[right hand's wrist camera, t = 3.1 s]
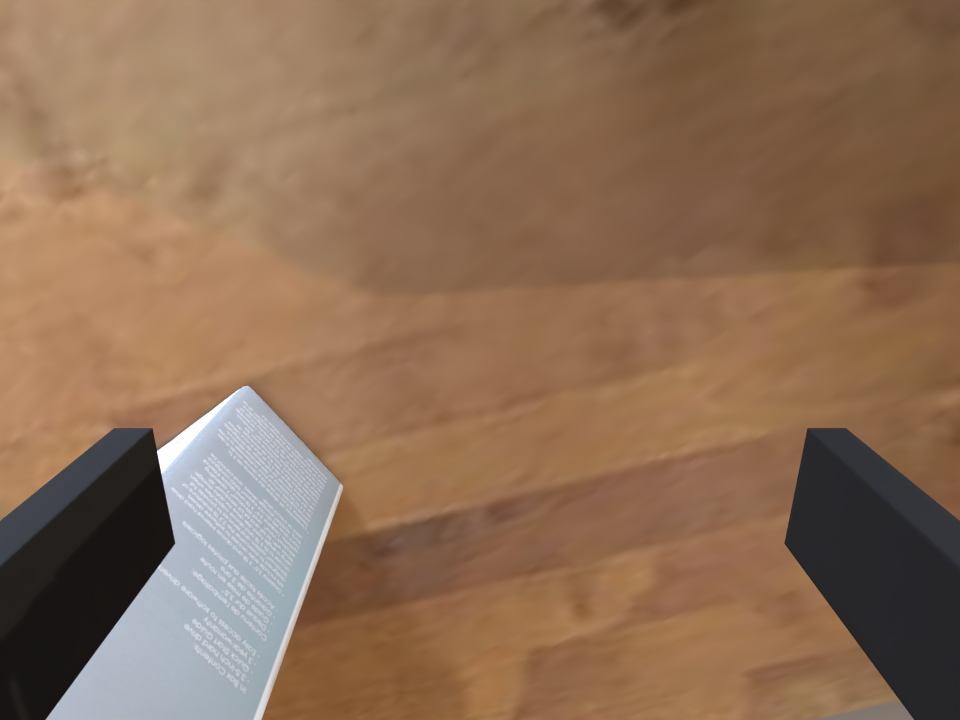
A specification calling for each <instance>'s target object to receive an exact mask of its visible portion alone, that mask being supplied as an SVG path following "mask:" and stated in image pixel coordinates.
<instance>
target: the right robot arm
mask: <svg viewBox="0 0 960 720" xmlns="http://www.w3.org/2000/svg"><path fill="white" fill-rule="evenodd" d="M174 545H175V539H174V534H173V529H172V524H171V519H170V514H169V509H168V504H167V499H166V494H165V489H164V484H163V479H162V474H161V469H160V464H159V459H158V454H157V449H156V444H155V439H154V434H153V429H152V428H114V429H113V430H111V431H110V432H109V433H108V434H107V435H105V436H104V437H103V438H102V439H100V440H99V441H98V442H97V443H95V444H94V445H93V446H92V447H91V448H89V449H88V450H87V451H86V452H84V453H83V454H82V455H81V456H80V457H78V458H77V459H76V460H75V461H73V462H72V463H71V464H70V465H68V466H67V467H66V468H65V469H64V470H62V471H61V472H60V473H59V474H57V475H56V476H55V477H54V478H53V479H51V480H50V481H49V482H48V483H46V484H45V485H44V486H43V487H41V488H40V489H39V490H38V491H37V492H35V493H34V494H33V495H32V496H30V497H29V498H28V499H27V500H26V501H24V502H23V503H22V504H21V505H19V506H18V507H17V508H16V509H15V510H13V511H12V512H11V513H10V514H8V515H7V516H6V517H5V518H3V519H2V520H1V521H0V720H46V719H47V717H48V716H49V715H50V713H51V712H52V711H53V709H54V708H55V706H56V705H57V704H58V702H59V701H60V700H61V698H62V697H63V696H64V694H65V693H66V692H67V690H68V689H69V687H70V686H71V685H72V683H73V682H74V681H75V679H76V678H77V677H78V675H79V674H80V673H81V671H82V670H83V668H84V667H85V666H86V664H87V663H88V662H89V660H90V659H91V658H92V656H93V655H94V653H95V652H96V651H97V649H98V648H99V647H100V645H101V644H102V643H103V641H104V640H105V639H106V637H107V636H108V634H109V633H110V632H111V630H112V629H113V628H114V626H115V625H116V624H117V622H118V621H119V620H120V618H121V617H122V615H123V614H124V613H125V611H126V610H127V609H128V607H129V606H130V605H131V603H132V602H133V601H134V599H135V598H136V596H137V595H138V594H139V592H140V591H141V590H142V588H143V587H144V586H145V584H146V583H147V582H148V580H149V579H150V577H151V576H152V575H153V573H154V572H155V571H156V569H157V568H158V567H159V565H160V564H161V563H162V561H163V560H164V558H165V557H166V556H167V554H168V553H169V552H170V550H171V549H172V548H173V546H174ZM785 545H786V546H787V548H788V549H789V550H790V552H791V553H792V554H793V556H794V557H795V558H796V560H797V561H798V563H799V564H800V565H801V567H802V568H803V569H804V571H805V572H806V573H807V575H808V576H809V577H810V579H811V580H812V582H813V583H814V584H815V586H816V587H817V588H818V590H819V591H820V592H821V594H822V595H823V596H824V598H825V599H826V601H827V602H828V603H829V605H830V606H831V607H832V609H833V610H834V611H835V613H836V614H837V615H838V617H839V618H840V620H841V621H842V622H843V624H844V625H845V626H846V628H847V629H848V630H849V632H850V633H851V634H852V636H853V637H854V639H855V640H856V641H857V643H858V644H859V645H860V647H861V648H862V649H863V651H864V652H865V653H866V655H867V656H868V658H869V659H870V660H871V662H872V663H873V664H874V666H875V667H876V668H877V670H878V671H879V673H880V674H881V675H882V677H883V678H884V679H885V681H886V682H887V683H888V685H889V686H890V687H891V689H892V690H893V692H894V693H895V694H896V696H897V697H898V698H899V700H900V701H901V702H902V704H903V705H904V706H905V708H906V709H907V710H908V712H909V713H910V715H911V716H912V717H913V719H914V720H960V521H959V520H958V519H957V518H955V517H954V516H953V515H952V514H950V513H949V512H948V511H947V510H945V509H944V508H943V507H942V506H941V505H939V504H938V503H937V502H936V501H934V500H933V499H932V498H931V497H930V496H928V495H927V494H926V493H925V492H923V491H922V490H921V489H920V488H918V487H917V486H916V485H915V484H914V483H912V482H911V481H910V480H909V479H907V478H906V477H905V476H904V475H903V474H901V473H900V472H899V471H898V470H896V469H895V468H894V467H893V466H892V465H890V464H889V463H888V462H887V461H885V460H884V459H883V458H882V457H880V456H879V455H878V454H877V453H876V452H874V451H873V450H872V449H871V448H869V447H868V446H867V445H866V444H865V443H863V442H862V441H861V440H860V439H858V438H857V437H856V436H855V435H853V434H852V433H851V432H850V431H849V430H847V429H846V428H808V429H807V434H806V439H805V444H804V449H803V454H802V459H801V464H800V469H799V474H798V479H797V484H796V489H795V494H794V499H793V504H792V509H791V514H790V519H789V524H788V529H787V534H786V539H785Z"/></svg>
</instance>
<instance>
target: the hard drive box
mask: <svg viewBox="0 0 960 720" xmlns="http://www.w3.org/2000/svg"><path fill="white" fill-rule="evenodd" d="M157 454H158V459H159V464H160V469H161V474H162V479H163V484H164V489H165V494H166V499H167V504H168V509H169V514H170V519H171V524H172V529H173V534H174V539H175V545H174V546H173V548H172V549H171V550H170V552H169V553H168V554H167V556H166V557H165V558H164V560H163V561H162V563H161V564H160V565H159V567H158V568H157V569H156V571H155V572H154V573H153V575H152V576H151V577H150V579H149V580H148V582H147V583H146V584H145V586H144V587H143V588H142V590H141V591H140V592H139V594H138V595H137V596H136V598H135V599H134V601H133V602H132V603H131V605H130V606H129V607H128V609H127V610H126V611H125V613H124V614H123V615H122V617H121V618H120V620H119V621H118V622H117V624H116V625H115V626H114V628H113V629H112V630H111V632H110V633H109V634H108V636H107V637H106V639H105V640H104V641H103V643H102V644H101V645H100V647H99V648H98V649H97V651H96V652H95V653H94V655H93V656H92V658H91V659H90V660H89V662H88V663H87V664H86V666H85V667H84V668H83V670H82V671H81V673H80V674H79V675H78V677H77V678H76V679H75V681H74V682H73V683H72V685H71V686H70V687H69V689H68V690H67V692H66V693H65V694H64V696H63V697H62V698H61V700H60V701H59V702H58V704H57V705H56V706H55V708H54V709H53V711H52V712H51V713H50V715H49V716H48V717H47V719H46V720H262V717H263V714H264V711H265V708H266V706H267V703H268V700H269V697H270V694H271V691H272V689H273V686H274V683H275V680H276V677H277V674H278V672H279V669H280V666H281V663H282V660H283V657H284V654H285V652H286V649H287V646H288V643H289V640H290V638H291V635H292V632H293V629H294V626H295V623H296V620H297V618H298V615H299V612H300V609H301V606H302V603H303V601H304V598H305V595H306V592H307V589H308V587H309V584H310V581H311V578H312V576H313V573H314V570H315V567H316V564H317V562H318V559H319V556H320V553H321V550H322V547H323V544H324V541H325V539H326V536H327V533H328V530H329V527H330V525H331V522H332V519H333V516H334V513H335V510H336V507H337V505H338V502H339V499H340V496H341V494H342V491H343V486H342V484H341V483H340V482H339V481H338V480H337V479H336V478H335V477H334V475H333V474H332V473H331V472H330V471H329V470H328V469H327V468H326V467H325V466H324V465H323V464H322V463H321V462H320V461H319V459H318V458H317V457H316V456H315V455H314V454H313V453H312V452H311V451H310V450H309V449H308V448H307V447H306V445H305V444H304V443H303V442H302V441H301V440H300V439H299V438H298V437H297V436H296V435H295V434H294V433H293V432H292V431H291V430H290V428H289V427H288V426H287V425H286V424H285V423H284V422H283V421H282V420H281V419H280V418H279V417H278V416H277V415H276V414H275V413H274V411H273V410H272V409H271V408H270V407H269V406H268V405H267V404H266V403H265V402H264V401H263V400H262V399H261V398H260V397H259V396H258V395H257V394H256V393H255V392H254V391H253V390H252V389H251V388H250V387H249V386H244V387H242V388H241V389H239V390H238V391H236V392H235V393H234V394H232V395H231V396H230V397H228V398H227V399H226V400H224V401H223V402H222V403H220V404H219V405H218V406H217V407H215V408H214V409H213V410H212V411H210V412H209V413H208V414H206V415H205V416H203V417H202V418H201V419H199V420H198V421H197V422H195V423H194V424H193V425H191V426H190V427H189V428H187V429H186V430H185V431H184V432H182V433H181V434H180V435H178V436H177V437H176V438H175V439H173V440H172V441H171V442H169V443H168V444H167V445H165V446H164V447H162V448H161V449H160V450H158V451H157Z"/></svg>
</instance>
